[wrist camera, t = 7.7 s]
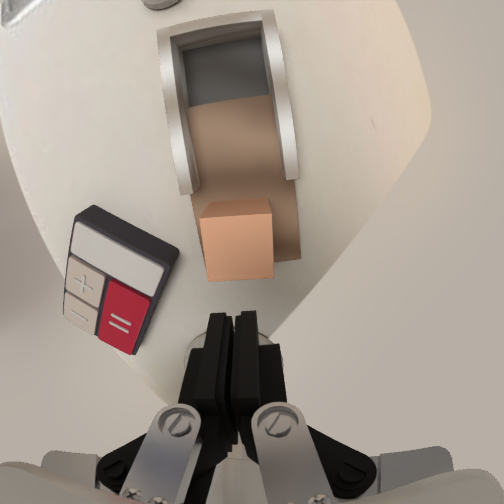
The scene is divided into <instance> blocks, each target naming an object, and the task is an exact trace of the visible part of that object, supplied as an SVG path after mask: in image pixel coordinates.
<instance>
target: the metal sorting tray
mask: <svg viewBox="0 0 504 504" xmlns="http://www.w3.org/2000/svg"><path fill="white" fill-rule="evenodd" d="M157 42H158V52H159V62H160V70H161V79H162V87H163V94H164V101H165V108H166V115H167V122H168V128H169V134H170V140H171V146H172V152H173V158H174V163H175V169H176V174H177V179H178V184H179V190H180V194H181V195H187V194H190V196H191V201H192V206H193V211H194V216H195V220H196V225H197V230H198V234H199V239H200V244H201V248H202V253H203V257H204V261H205V256H204V249H203V242H202V235H201V227H200V220H199V218H200V217H201V215H202V213H203V212H204V210H205V208H206V207H207V205H208V204H209V202H215V201H227V200H241V199H257V198H268V202H269V205H270V209H271V213H272V231H273V259H274V262H280V261H288V260H296V259H301V252H300V238H299V226H298V214H297V203H296V193H295V183H294V179H300V178H299V168H298V159H297V151H296V142H295V134H294V127H293V119H292V112H291V105H290V98H289V92H288V85H287V79H286V73H285V67H284V61H283V56H282V50H281V45H280V40H279V35H278V29H277V25H276V20H275V15H274V10H261V11H250V12H241V13H233V14H226V15H220V16H214V17H209V18H203V19H199V20H194V21H190V22H185V23H181V24H177V25H174V26H170V27H166V28H163V29H159V30H157ZM205 266H206V263H205Z"/></svg>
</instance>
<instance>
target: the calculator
mask: <svg viewBox="0 0 504 504" xmlns="http://www.w3.org/2000/svg"><path fill="white" fill-rule="evenodd" d="M178 254H179V250H178V248H176V247H174V246H172V245H170V244H168V243H167V242H165V241H163V240H161V239H159V238H157V237H155V236H153V235H151V234H149V233H147V232H145V231H143V230H141V229H139V228H137V227H135V226H134V225H132V224H130V223H128V222H126V221H124V220H122V219H120V218H118V217H116V216H115V215H113V214H111V213H109V212H107V211H105V210H103V209H102V208H100V207H98V206H96V205H92V206H90V207H89V208H87V209H85V210H84V211H82V212H81V213H79V214H77V215H76V216H75V218H74V223H73V228H72V233H71V239H70V246H69V252H68V259H67V267H66V277H65V288H64V302H63V315H64V318H65V319H67V320H68V321H70V322H71V323H73V324H74V325H76V326H78V327H79V328H81V329H83V330H84V331H86V332H88V333H89V334H91V335H96V336H98V338H99V339H100V340H102V341H104V342H105V343H107V344H109V345H111V346H113V347H115V348H117V349H119V350H121V351H123V352H125V353H127V354H129V355H131V354H132V355H136V353H137V351H138V349H139V347H140V344H141V342H142V340H143V337H144V335H145V332H146V330H147V327H148V325H149V322H150V319H151V317H152V314H153V312H154V310H155V307H156V305H157V302H158V300H159V297H160V295H161V293H162V290H163V288H164V286H165V284H166V281H167V279H168V277H169V275H170V272H171V270H172V268H173V266H174V263H175V261H176V259H177V257H178Z"/></svg>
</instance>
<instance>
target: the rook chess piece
mask: <svg viewBox="0 0 504 504" xmlns="http://www.w3.org/2000/svg"><path fill="white" fill-rule="evenodd" d="M177 1H178V0H142V2H143V3H144V5H145V6H146V7H148V8H150V9H162V8H166V7H169V6H171V5H173V4H175V3H176V2H177Z"/></svg>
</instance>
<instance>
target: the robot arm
mask: <svg viewBox="0 0 504 504" xmlns="http://www.w3.org/2000/svg"><path fill="white" fill-rule="evenodd" d="M184 366H185V370H186V371H185V375H184V379H183V383H182V388H181V392H180V396H179V400H178V404H172V405H168V406H166V407H164V408H163V409H161V410H160V411H159V412H158V413H157V414H156V416H155V417H154V419H153V421H152V424H151V426H150V428H149V430H148V432H147V433H145V434H144V435H142V436H140V437H139V438H137V439H135V440H133V441H131V442H129V443H127V444H126V445H124V446H122V447H120V448H118V449H116V450H114V451H113V452H111V453H108V454H106V455H105V456H104V457H99V456H97V455H94V454H80V453H71V452H62V451H50V452H48V453H47V454H46V455H45V456H44V457H43V460H42V464H41V467H39V466H36V465H33V464H29V463H24V462H5V463H1V464H0V504H504V490H503V489H502V487H501V485H500V484H499V482H498V481H497V479H496V478H495V477H494V476H493V475H492V474H491V473H489V472H488V471H485V470H481V469H464V470H456V471H454V470H453V463H452V457H451V455H450V452H449V451H448V450H446V449H445V448H443V447H440V446H435V447H434V446H433V447H428V448H422V449H416V450H410V451H402V452H394V453H385V454H380V456H374V457H368V456H367V455H365V454H363V453H361V452H359V451H356V450H354V449H352V448H350V447H348V446H346V445H344V444H342V443H340V442H338V441H336V440H334V439H332V438H330V437H328V436H326V435H325V434H323V433H321V432H319V431H317V430H315V429H314V428H312V427H310V426H308V425H307V424H306V422H305V419H304V416H303V414H302V413H301V411H300V410H299V409H298V408H297V407H296V406H294V405H291V404H289V403H287V398H286V390H285V382H284V374H283V358H282V356H281V351H280V345H279V344H274V343H272V342H271V341H270V340H269V339H267V338H265V337H264V336H262V335H260V334H258V325H257V315H256V310H255V311H241V315H239V316H236V318H235V329H234V327H233V321H232V316H226V313H211V314H210V318H209V322H208V327H207V332H206V333H205V334H202V335H201V336H199V337H197V338H196V339H195V340H194V341H193V342H192V343H190V345H189V347H188V348H187V351H186V354H185V358H184Z"/></svg>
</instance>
